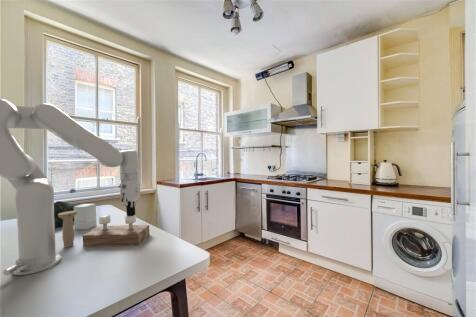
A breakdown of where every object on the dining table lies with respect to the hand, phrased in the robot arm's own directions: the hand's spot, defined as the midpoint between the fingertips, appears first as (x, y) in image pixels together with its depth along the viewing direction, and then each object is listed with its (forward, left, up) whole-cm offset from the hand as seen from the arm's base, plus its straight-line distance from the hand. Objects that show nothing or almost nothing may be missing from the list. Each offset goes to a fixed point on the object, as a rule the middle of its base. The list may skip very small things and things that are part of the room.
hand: (131, 215), depth 95 cm
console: (0, +6, -12) cm, 13 cm away
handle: (-5, +25, -12) cm, 28 cm away
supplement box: (+19, +35, -12) cm, 42 cm away
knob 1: (0, +12, -8) cm, 14 cm away
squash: (+25, +53, -12) cm, 60 cm away
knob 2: (0, 0, -8) cm, 8 cm away
